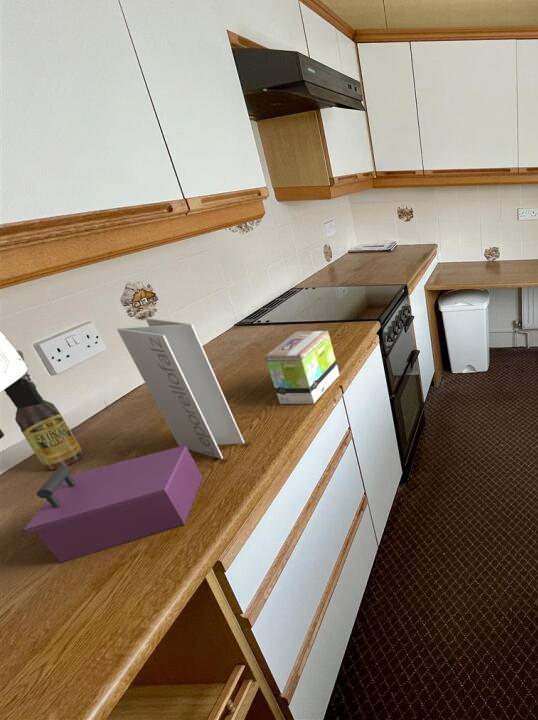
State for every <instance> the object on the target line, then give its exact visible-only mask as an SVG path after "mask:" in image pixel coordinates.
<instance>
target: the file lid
mask: <svg viewBox="0 0 538 720" xmlns="http://www.w3.org/2000/svg"><path fill="white" fill-rule="evenodd" d="M186 450H187V447H186V445H185V446H181V447H179V446H177V447H173V448H169V449H164V450H161V451H157V452H153V453H150V454H146V455H143V456H139V457H135V458H131V459H127V460H123V461H119V462H115V463H112V464H107V465H103V466H100V467H96V468H93V469H88V470H85V471H81V472H76V473H73V474H71V472H72V468H71V467H70V465H68V466H60V467H58V469H55V470H54V472H53V473H52V474H51V475H50V477H48V479H47V480H46V481H45V482H44V483H43V485H42V486H41V487H40V488H39V489H38V490H37V491H36V496H37V497H38V498H39V499H46V501H45V502H44V504H43V505H42V506H41V507H40V509H39V510H38V511H37V512H36V514H34V516H33V517H32V518H31V519H30V521H29V522H28V523H27V525H26V526H25V527H24V528H23V531H24V532H25V533H26V534H28V533H32V532H35V530H38V529H42V528H45V527H48V526H52V525H55V524H59V523H62V522H66V521H69V520H73V519H76V518H80V517H83V516H87V515H90V514H94V513H97V512H101V511H104V510H108V509H111V508H115V507H118V506H122V505H125V504H129V503H132V502H136V501H139V500H142V499H146V498H149V497H153V496H156V495H160V494H163V493H166V492H167V490H168V488H169V486H170V484H171V482H172V479H173V477H174V475H175V473H176V471H177V469H178V467H179V465H180V463H181V461H182V458H183V456H184V454H185V452H186Z"/></svg>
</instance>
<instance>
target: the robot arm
mask: <svg viewBox="0 0 538 720" xmlns="http://www.w3.org/2000/svg"><path fill="white" fill-rule="evenodd" d="M28 366H29V365H27V364H26V362H25V357H24V354H23V352H22V350H16V349H15V347H14V346H13V345H12V344H11V342H10V341H9V340H8V338H6V337H5V335H4V334H3V333H2V332H1V331H0V393H2V392H3V391H4V392H5V394H6V393H7V394H6V396H8V398H9V399H10V401H11V402H12V403H13V405H14V406H15V407H16V409H17V408H24V407H29V406H33V405H38V404H41V403H42V402H43V400H44V399H42V398H43V396H41V394H40V393H39V391H38V390H37V387H36V388H35V387H34V385H33V384H32V382H28V381H32V376H31V375H30V374H29V373H28ZM4 437H5V433H4V432H3V431H2V429H1V428H0V440H1V439H2V438H4Z"/></svg>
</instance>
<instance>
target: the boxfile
mask: <svg viewBox="0 0 538 720" xmlns="http://www.w3.org/2000/svg"><path fill="white" fill-rule="evenodd" d="M202 481H203V476H202V474H201V472H200V470H199V468H198V466H197V464H196V462H195V460H194V458H193V456H192V454H191V452H190V450H189V449H187V450H186V452H185V454H184V456H183V458H182V461H181V463H180V465H179V467H178V469H177V471H176V473H175V475H174V477H173V479H172V482H171V484H170V486H169V488H168V490H167V492H166V493H163V494H160V495H156V496H153V497H149V498H146V499H142V500H139V501H136V502H132V503H129V504H125V505H122V506H118V507H115V508H111V509H108V510H104V511H101V512H97V513H94V514H90V515H87V516H83V517H80V518H76V519H73V520H69V521H66V522H62V523H59V524H55V525H52V526H48V527H45V528H42V529H38V530H35V531H34V533H35V534H36V536H37V537H39V539H40V540H41V541H42V542H43V543H44V545H45V547H47V549H48V550H49V551H50V552H51V553H52V555H53V556H54V558H56V560H58V562H59V563H60V564H62V563H66V562H69V561H71V560H74V559H78V558H81V557H84V556H89V555H90V554H94V553H98V552H101V551H104V550H106V549H110V548H114V547H116V546H120V545H123V544H125V543H130V542H133V541H136V540H139V539H143V538H146V537H149V536H152V535H156V534H159V533H162V532H165V531H168V530H172V529H174V528H178V527H182V526H184V525H186V522H187V520H188V518H189V515H190V512H191V510H192V506H193V504H194V501H195V499H196V497H197V494H198V492H199V488H200V486H201V483H202Z"/></svg>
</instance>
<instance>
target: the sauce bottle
mask: <svg viewBox="0 0 538 720" xmlns="http://www.w3.org/2000/svg"><path fill="white" fill-rule="evenodd" d="M28 382H32V384H33V385H34V387H35V388H36V389H37V385H36V384H35V382H34V381H33V380H31V381H28ZM5 394H6V395H7V393H6V392H5ZM42 399H43V397H42ZM14 419H15V422H16V424H17V426H18V428H19V430H20V431H21V433H22V435H23V436H24V438H25V440H26V441H27V443H28V444H29V446H30V448H31V449H32V450H33V452H34V453H35V455H36V457H37V458H38V460H39V461H40V464H42V465H43V466H44V468H45V469H46V470H49V471H56V470H57V469H58V467H60V466H70V465H72V464H74V463H75V462H76V461H78V460H79V459H81V458H82V457H83V451H82V447H81V446H80V444H79V442H78V440H77V439H76V437H75V436H74V434H73V432H72V431H71V429H70V427H69V425H68V423H67V422H66V420H65V418H64V417H63V415H62V414H61V412H60V411H59V409H58V408H57V406H56V405H55V404H54V403H52V402H49V401H48V400H45V399H43V402H42V403H41V404H38V405H33V406H29V407H24V408H17V407H16V412H15V418H14Z"/></svg>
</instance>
